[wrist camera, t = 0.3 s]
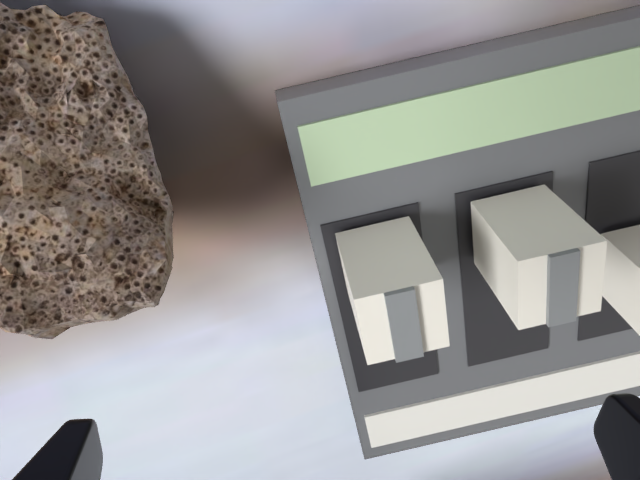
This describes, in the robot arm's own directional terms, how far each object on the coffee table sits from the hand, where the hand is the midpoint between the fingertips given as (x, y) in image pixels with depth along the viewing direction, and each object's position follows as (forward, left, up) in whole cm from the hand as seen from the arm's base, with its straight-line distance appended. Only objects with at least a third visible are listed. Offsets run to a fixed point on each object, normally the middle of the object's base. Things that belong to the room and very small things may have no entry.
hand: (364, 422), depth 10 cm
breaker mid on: (-5, -8, -12) cm, 15 cm away
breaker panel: (-8, -8, -14) cm, 18 cm away
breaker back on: (-5, -2, -12) cm, 13 cm away
